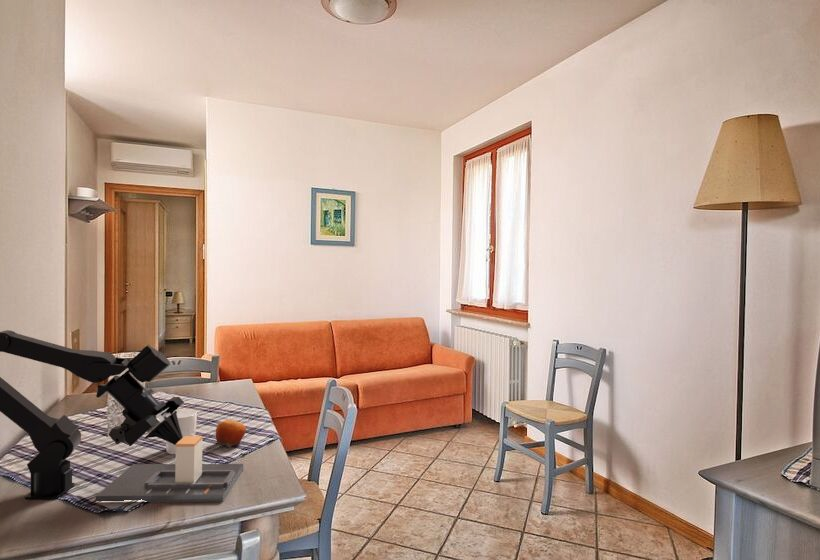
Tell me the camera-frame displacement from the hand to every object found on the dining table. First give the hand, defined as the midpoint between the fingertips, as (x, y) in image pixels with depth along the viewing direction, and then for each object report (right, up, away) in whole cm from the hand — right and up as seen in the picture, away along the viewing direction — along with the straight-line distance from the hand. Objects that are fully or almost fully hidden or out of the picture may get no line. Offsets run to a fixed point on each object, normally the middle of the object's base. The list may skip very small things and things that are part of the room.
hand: (182, 445), depth 109 cm
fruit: (+2, -9, +24) cm, 26 cm away
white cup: (-10, -8, +20) cm, 23 cm away
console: (-1, -9, -1) cm, 9 cm away
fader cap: (+2, -7, -2) cm, 8 cm away
